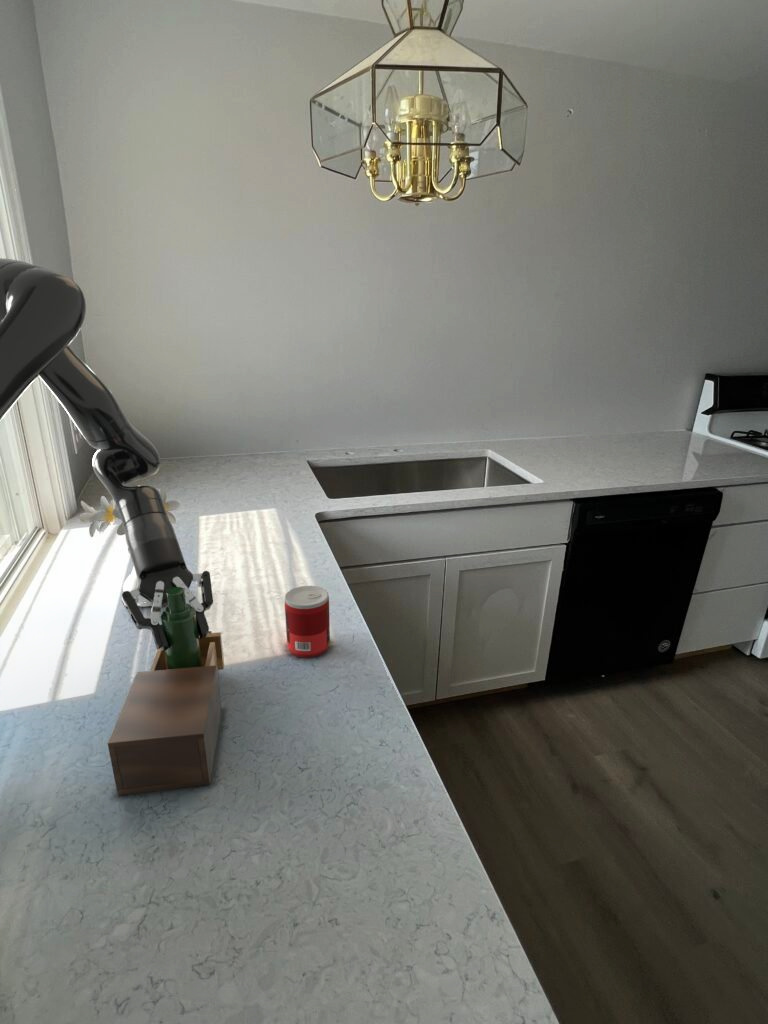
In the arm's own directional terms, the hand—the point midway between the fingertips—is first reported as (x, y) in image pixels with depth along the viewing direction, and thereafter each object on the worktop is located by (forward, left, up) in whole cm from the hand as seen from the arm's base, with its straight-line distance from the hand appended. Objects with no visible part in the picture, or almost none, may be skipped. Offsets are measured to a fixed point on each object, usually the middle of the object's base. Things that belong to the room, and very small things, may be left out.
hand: (185, 642), depth 87 cm
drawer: (-1, +2, -10) cm, 10 cm away
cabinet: (-1, -11, -11) cm, 15 cm away
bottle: (-1, +2, -9) cm, 9 cm away
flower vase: (-15, +34, -11) cm, 39 cm away
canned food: (+19, +12, -11) cm, 25 cm away
